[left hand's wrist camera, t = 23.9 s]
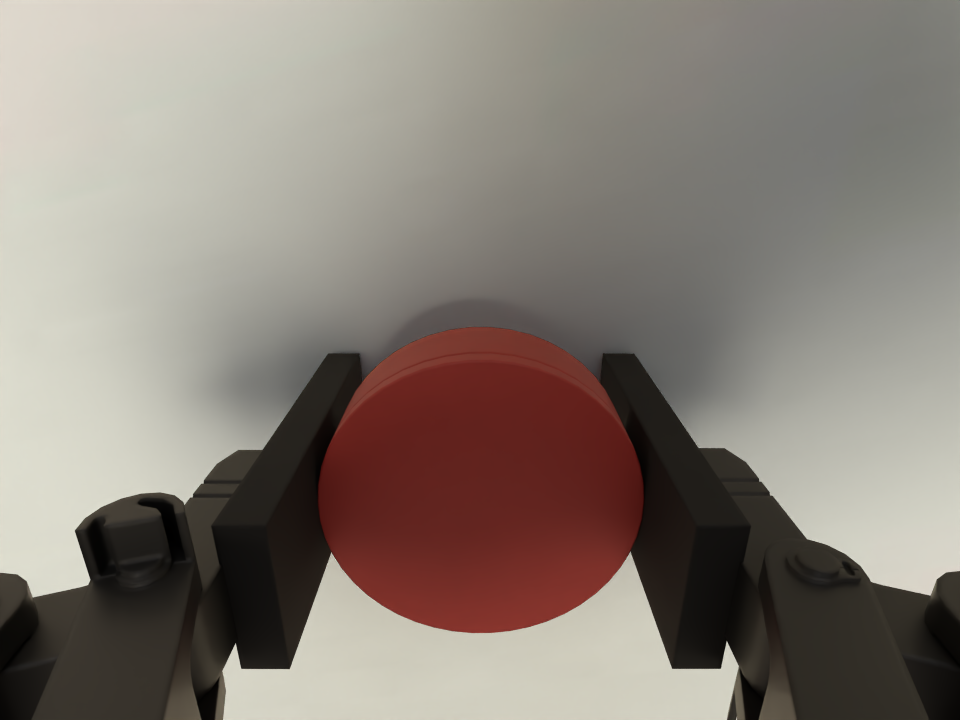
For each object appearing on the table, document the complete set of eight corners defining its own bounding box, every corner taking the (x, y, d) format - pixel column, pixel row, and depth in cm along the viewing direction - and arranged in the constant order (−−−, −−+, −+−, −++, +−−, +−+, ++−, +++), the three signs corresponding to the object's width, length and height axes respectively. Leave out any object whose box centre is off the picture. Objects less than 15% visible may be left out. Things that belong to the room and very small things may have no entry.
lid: (446, 610, 14) (442, 675, 12) (279, 426, 12) (247, 473, 10) (672, 492, 12) (701, 546, 11) (524, 265, 11) (532, 291, 9)
